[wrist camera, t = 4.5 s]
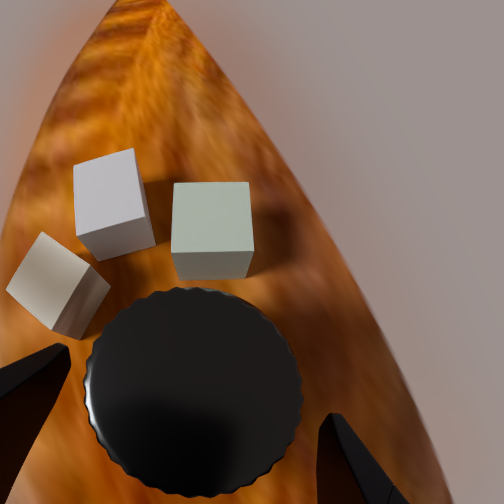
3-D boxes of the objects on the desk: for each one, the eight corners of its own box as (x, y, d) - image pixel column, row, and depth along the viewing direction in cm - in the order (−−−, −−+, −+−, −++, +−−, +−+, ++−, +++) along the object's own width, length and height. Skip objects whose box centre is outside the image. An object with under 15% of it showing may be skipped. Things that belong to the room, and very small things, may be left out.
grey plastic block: (156, 246, 20) (145, 216, 16) (98, 262, 19) (76, 235, 15) (143, 184, 21) (133, 148, 18) (91, 198, 20) (73, 165, 17)
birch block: (80, 340, 17) (51, 330, 13) (37, 306, 17) (5, 289, 13) (111, 286, 18) (90, 264, 15) (67, 257, 19) (42, 231, 15)
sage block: (244, 278, 20) (254, 250, 15) (179, 280, 19) (171, 252, 15) (241, 220, 21) (248, 182, 17) (180, 222, 20) (174, 183, 16)
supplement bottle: (179, 457, 15) (133, 566, 4) (124, 355, 17) (3, 312, 6) (283, 405, 17) (394, 439, 6) (226, 305, 19) (250, 195, 8)
